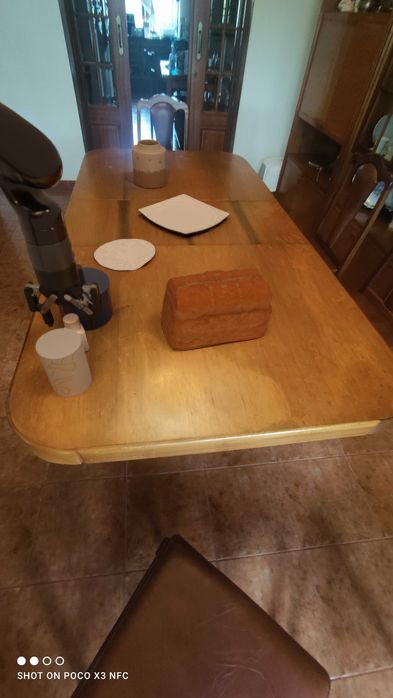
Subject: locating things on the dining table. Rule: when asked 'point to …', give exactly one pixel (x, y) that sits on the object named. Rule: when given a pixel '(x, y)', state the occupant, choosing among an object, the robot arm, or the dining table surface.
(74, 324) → the salt shaker
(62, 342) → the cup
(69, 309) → the pot
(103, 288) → the pot lid
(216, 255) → the dining table surface
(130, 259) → the plaque
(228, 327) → the bread
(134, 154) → the vase
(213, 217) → the plate
